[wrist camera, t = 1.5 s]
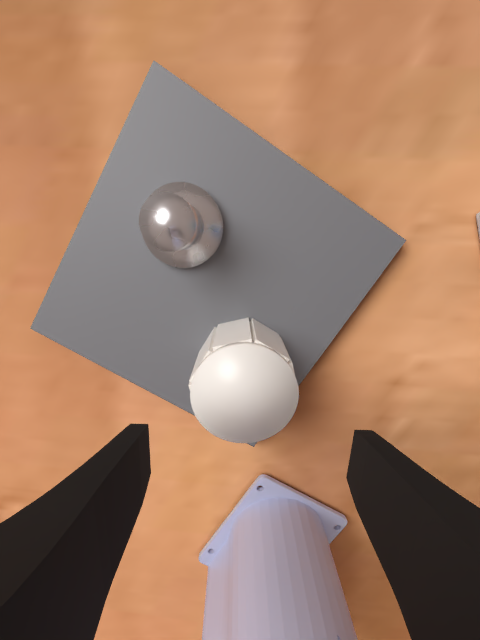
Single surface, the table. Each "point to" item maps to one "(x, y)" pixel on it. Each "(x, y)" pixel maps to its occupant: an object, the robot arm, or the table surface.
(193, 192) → the chrome cabinet knob
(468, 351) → the table surface
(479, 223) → the light bulb box
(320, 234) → the base plate
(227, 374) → the cap
